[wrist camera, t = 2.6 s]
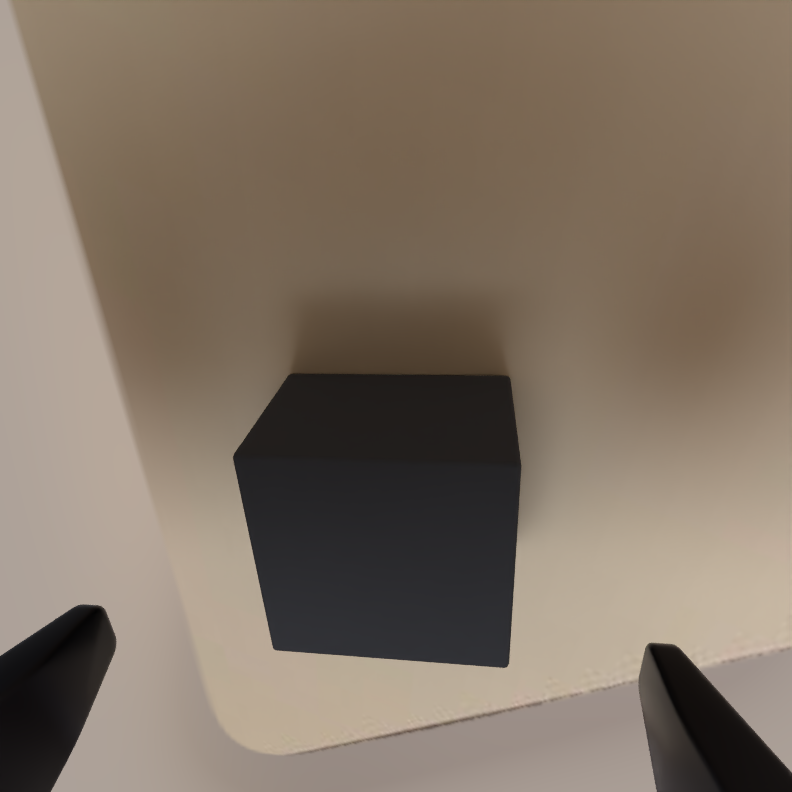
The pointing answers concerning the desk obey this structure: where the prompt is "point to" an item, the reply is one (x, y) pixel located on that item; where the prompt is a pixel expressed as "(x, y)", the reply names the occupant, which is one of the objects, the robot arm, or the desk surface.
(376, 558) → the black cube
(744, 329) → the desk surface
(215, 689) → the desk surface
